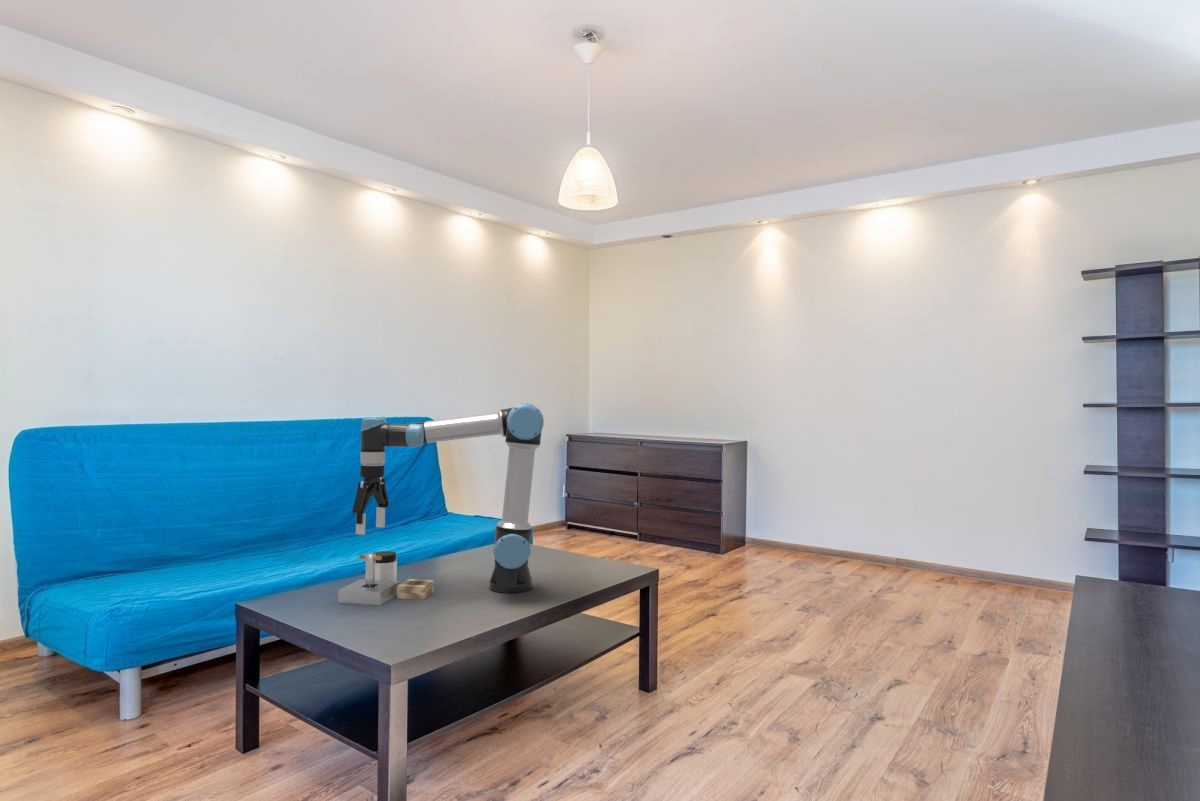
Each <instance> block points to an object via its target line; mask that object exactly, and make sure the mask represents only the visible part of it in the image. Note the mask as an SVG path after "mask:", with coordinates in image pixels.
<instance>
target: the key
mask: <svg viewBox="0 0 1200 801" xmlns="http://www.w3.org/2000/svg"><path fill="white" fill-rule="evenodd" d="M381 559H382V556H376V554H373V553H366V554H360V555H359V560H363V561H365V575H364V576H365V578H364V579H365V587H372V588H373V587H375V561H376V560H381Z"/></svg>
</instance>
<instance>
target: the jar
mask: <svg viewBox="0 0 1200 801" xmlns="http://www.w3.org/2000/svg"><path fill="white" fill-rule="evenodd" d="M372 554H376V556H382V559H381V560H376V561H375V580H384V581H398V579H397V577H398V576H397V574H398V573H397V572H398V559H397V552H396V551H393V550H385V551H375V552H373V553H372Z"/></svg>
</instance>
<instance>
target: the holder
mask: <svg viewBox="0 0 1200 801" xmlns="http://www.w3.org/2000/svg"><path fill="white" fill-rule="evenodd" d="M434 593H435V580H434V579H418V578H417V579H416V578H408V579H406V580H404V581H403V582H400V584H399V585H397V596H396V598H397V599H402V600H418V601H419V600H426V599H427V598H428V597H430V596H431V595H432V594H434Z"/></svg>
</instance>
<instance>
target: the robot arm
mask: <svg viewBox="0 0 1200 801" xmlns="http://www.w3.org/2000/svg"><path fill="white" fill-rule="evenodd" d="M544 421H545V420H544V415H543V413H542V411H541V410H540V409H539V408H538V407H537V406H536V405H534V404H532V403H528V402H526V403H524V402H523V403H519V404H516V405H515V406H513V407H510V408H502V409H499V411H497V412H496V413H495V412H494V413H486V414H477V415H469V416H459V417H452V418H444V419H436V420H435V419H434V420H427V421H421V422H420V421H417V422H407V423H387V419H386V418H385V417H373V416H372V417H371V416H370V417H369V416H367V417H363V419H362V420H361V430H360V454H359V457H360V464H361V465H360V466H359V471H360V472H359V476H360V478H363V481H361V480H360V481H358V484H357V490H356V495H355V497H354V498H355V499H354V501H353V507H352V510H351V511H352V513H353V514H355V535H365V534H366V517H367V516H366V515H367V514H366V513H365V511H366V509H367V506H368V504H369V501H370V498H371V497H372V496H373V497H374V499H375V502H376V504H377V507H376V511H375V512H376V514H375V515H376V516H375V518H376V519H375V528H385V525H386V508H388V507H389V504H390V501H389V497H388V492H387V486H386V478H385V470H386V469H385V465H384V464H385V463H386V447H388V448H390V447H393V448H394V447H396V448H397V447H398V448H420V447H422V446H423V444H430V443H431V444H432V443H437V442H440V443H441V442H446V441H448V442H449V441H453V440H455V441H456V440H462V439H463V440H465V439H472V438H480V437H481V438H482V437H488V436H498V435H500V436H502V437H505V444H506V445H507V447H508V456H507V457H508V458H507V468H506V478H505V487H504V497H503V503H502V504H503V506H502V514H501V515H502V517H501V520H499V521H498V522H497V523H495V528H494V532H495V533H494V535H495V536H494V546H493V557H494V566H493V569H492V573H491V575H490V578H489V582H488V589H489V590H491V591H493V592H498V593H505V594H506V593H507V594H513V593H515V592H516V593H522V591H523V592H527V591H529V590H528V589H530V590H532V589H533V587H534V586H533V578H532V575H531V572H530V567H529V558H530V556H531V537H532V529H533V527H532V525H531V524H530V523H529V513H530V503H531V493H532V484H533V474H534V473H533V472H534V462H535V455H536V454H535V453H536V450H537V449H538V448H540V446H541V442H542V441H541V440H542V430H543V428H544V423H545V422H544ZM532 586H533V587H532ZM531 588H532V589H531ZM526 590H527V591H526Z"/></svg>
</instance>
